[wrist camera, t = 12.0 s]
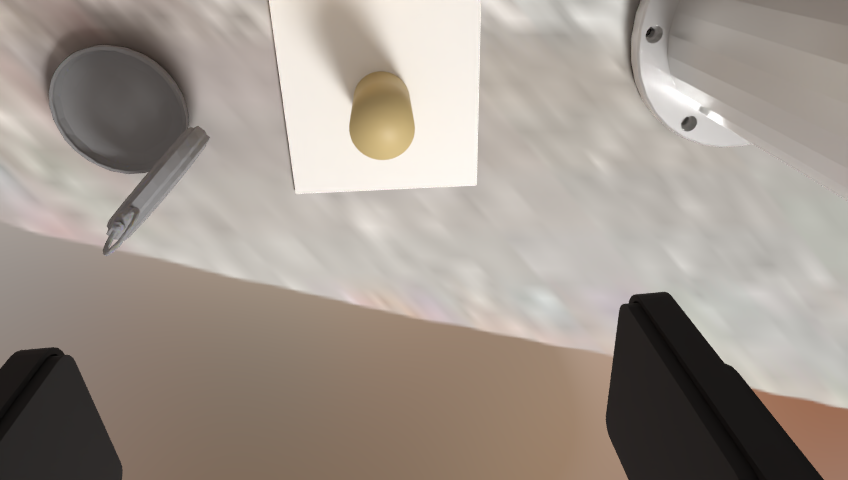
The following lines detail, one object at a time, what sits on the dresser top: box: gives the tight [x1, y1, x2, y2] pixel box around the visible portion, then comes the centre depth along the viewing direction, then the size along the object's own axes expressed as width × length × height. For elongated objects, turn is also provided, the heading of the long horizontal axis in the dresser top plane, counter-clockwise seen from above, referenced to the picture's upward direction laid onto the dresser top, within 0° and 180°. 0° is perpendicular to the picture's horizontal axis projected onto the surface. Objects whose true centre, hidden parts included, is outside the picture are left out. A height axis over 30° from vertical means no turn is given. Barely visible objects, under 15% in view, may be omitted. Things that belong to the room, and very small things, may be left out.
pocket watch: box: [49, 45, 210, 256], centre depth 27 cm, size 8×8×10 cm
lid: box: [269, 0, 481, 194], centre depth 29 cm, size 10×10×6 cm
